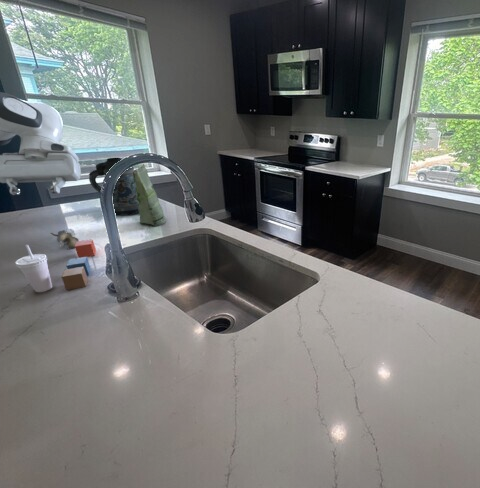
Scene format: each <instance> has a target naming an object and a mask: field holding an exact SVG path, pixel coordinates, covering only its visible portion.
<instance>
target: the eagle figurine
mask: <svg viewBox="0 0 480 488" xmlns="http://www.w3.org/2000/svg"><path fill="white" fill-rule="evenodd" d="M50 234H51V236H54V237H56V241H57V243H60V248H62V247H63V246H65V244H66V243H67V246H66V249H67V250H76V249H75V244H76V242H77V241H80V240H79V239H78V238H77V237H75V236H76V232H75V231H74V229H72V228H66V230H65V229H64V230H59V231H58V232H57V234H55V233H53V232H50Z"/></svg>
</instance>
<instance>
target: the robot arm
mask: <svg viewBox="0 0 480 488" xmlns="http://www.w3.org/2000/svg"><path fill="white" fill-rule="evenodd" d="M63 125H64V124H63V119H62V116H61V114H60V113H59V112H58V110H57V109H55V108H54V106H51V105H49V104H47V103H44V102H41V101H32V102H31V101H27V100H23V99H21V98H18V97H17V96H15V95H12V94H10V93H6V92H3V91H0V146H6V145H8V144H9V143H10V142H11V141H12V139H14V138H15V136H19V137H20V145H19V150H18V152H3V153H1V154H0V183H1V184H7V185H8V187H9V193H10V195H12V196H20V195H21V192H22V190H21V189H20V188H19V187H17V186H18V183H47V182H49V183H50V182H51V183H52V182H53V183H54V182H55V183H54V184H53V185H50V186H49V187H50V189H49V191H50V193H51V194H60V193H61V189H62V188H63V187H64V186H65V185H66V182H77V181H79V180H80V179H81V177H82V168H81V165H80V163H79V162H80V157H79V156H78V155H77V154H76V153H75V151H74V150H73V149H72V148H71V147H70V146H68V145H66V144H61V141H62V139H63V135H64V134H63V132H64V126H63Z"/></svg>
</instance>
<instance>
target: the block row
mask: <svg viewBox="0 0 480 488" xmlns="http://www.w3.org/2000/svg"><path fill="white" fill-rule="evenodd" d="M74 250H75V252H76V255H77V257H76V258H69V259H68V261H67V263H66V269H64V270H63V272H62V275H61V279H62V282H63V284H64V287H65V289H66V291H70V290H75V289H80V288H86V287H87V284H88V281H89V278H88V276H90V274H91V270H92V268H91V265H90V262H89V260H88V257H94V256H96V252H97V249H96V246H95V242H94V239H91V238H90V239H84V240H79V241H77V242H76V244H75V249H74Z"/></svg>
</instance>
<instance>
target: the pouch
mask: <svg viewBox="0 0 480 488" xmlns="http://www.w3.org/2000/svg"><path fill="white" fill-rule="evenodd" d="M133 178H134V181H135V185H136V192H137V200H138V201H139V205H140V207H139V209H138V210H139V214H138V216H139V224H145V225H146V224H147V225H152V226H154V227H157V226H160V225H163V224H164V223H166V221H167V218H166V215H165V213H164V210H163V208H162V205H161V203H160V199H159V196H158V194H157V192H156V191H155V188H154V185H153V183H152V182H151V178H150V176H149V172H148V169H147V168H146V165H145V164H144V163H142V165H141V166H138V168H135V169H134V172H133Z"/></svg>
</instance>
